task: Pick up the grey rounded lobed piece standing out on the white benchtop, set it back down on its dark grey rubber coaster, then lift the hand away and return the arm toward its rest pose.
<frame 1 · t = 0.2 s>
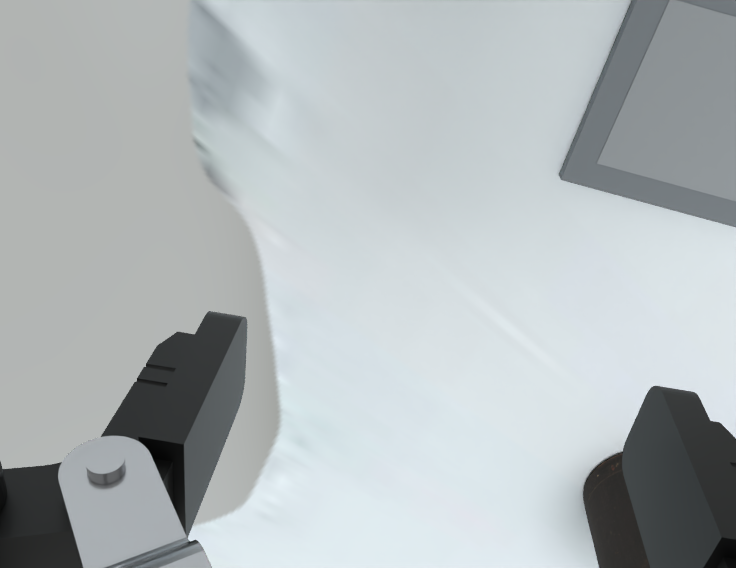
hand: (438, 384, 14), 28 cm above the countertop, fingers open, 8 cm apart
container: (636, 485, 52), on the countertop
coaster: (705, 103, 37), on the countertop
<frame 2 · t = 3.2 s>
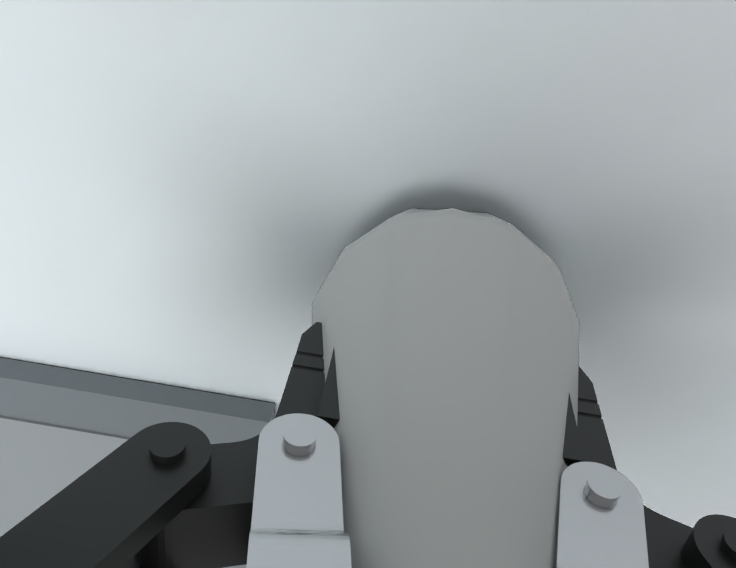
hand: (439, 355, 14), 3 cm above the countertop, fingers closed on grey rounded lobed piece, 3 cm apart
coaster: (91, 507, 23), on the countertop
grey rounded lobed piece: (442, 275, 17), on the countertop, touching gripper
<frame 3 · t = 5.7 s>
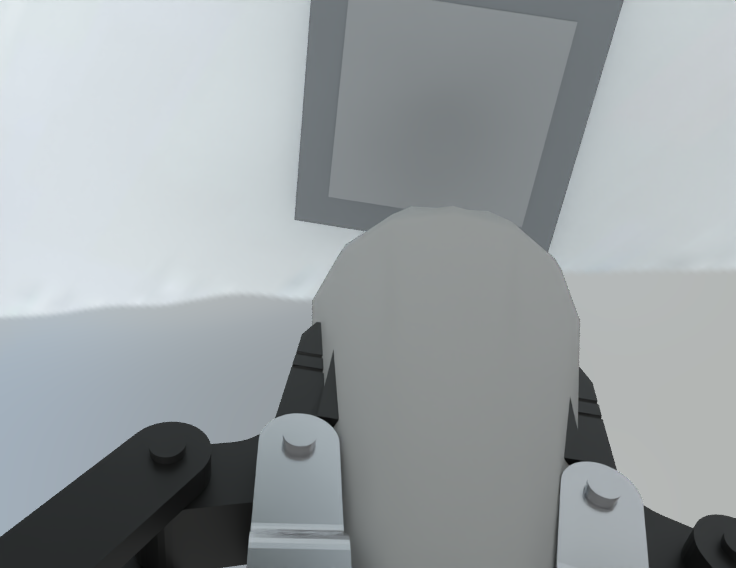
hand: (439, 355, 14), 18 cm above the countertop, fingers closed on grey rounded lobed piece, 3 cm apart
coaster: (442, 110, 30), on the countertop
grey rounded lobed piece: (443, 274, 17), point 15 cm above the countertop, touching gripper
when the fingers open (5 cm above the countertop, at t = 8.3 s): grey rounded lobed piece drops 1 cm, resting on coaster.
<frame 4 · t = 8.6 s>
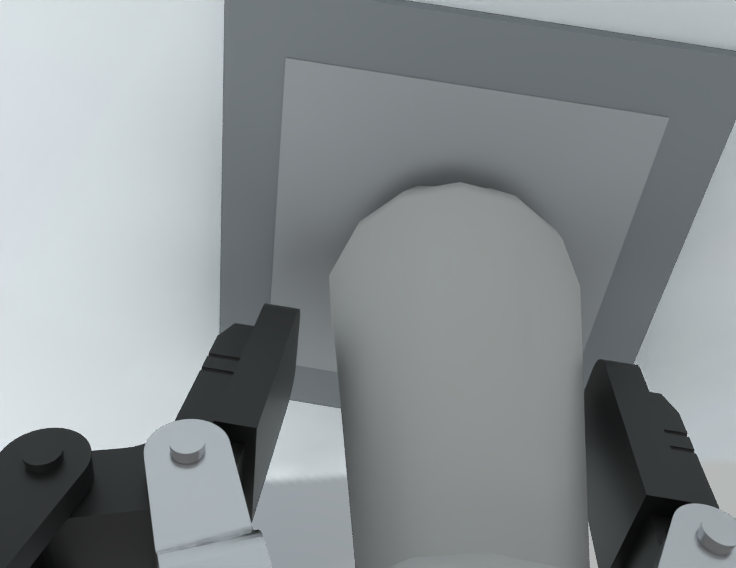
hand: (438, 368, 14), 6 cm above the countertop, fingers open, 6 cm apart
coaster: (441, 239, 19), on the countertop
grey rounded lobed piece: (448, 250, 18), point 1 cm above the countertop, touching coaster
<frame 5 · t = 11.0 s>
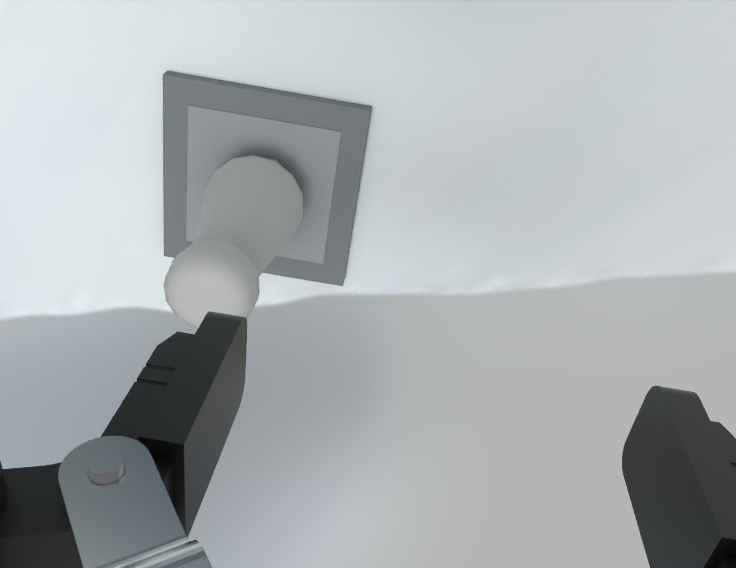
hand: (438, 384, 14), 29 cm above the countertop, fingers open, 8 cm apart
coaster: (262, 183, 43), on the countertop
grey rounded lobed piece: (263, 186, 42), point 1 cm above the countertop, touching coaster
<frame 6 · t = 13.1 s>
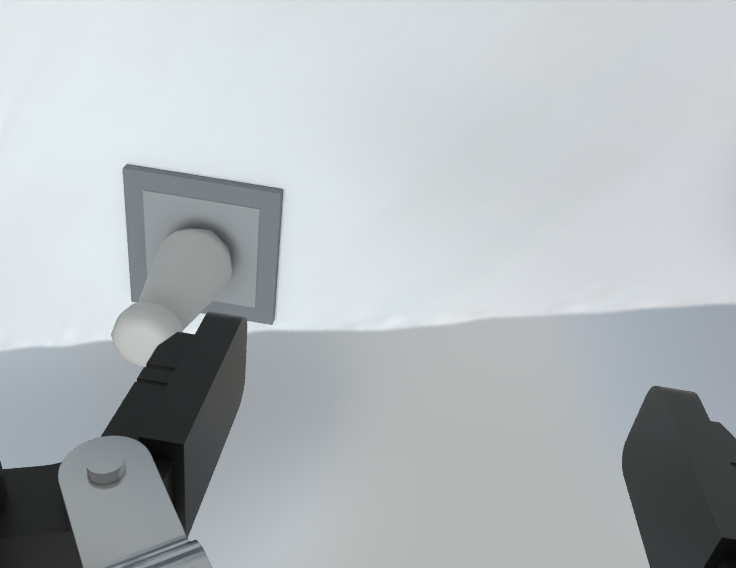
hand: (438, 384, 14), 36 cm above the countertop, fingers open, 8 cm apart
coaster: (204, 246, 55), on the countertop
grey rounded lobed piece: (204, 249, 54), point 1 cm above the countertop, touching coaster
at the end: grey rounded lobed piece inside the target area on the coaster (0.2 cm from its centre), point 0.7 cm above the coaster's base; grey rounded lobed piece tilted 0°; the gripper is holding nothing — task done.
